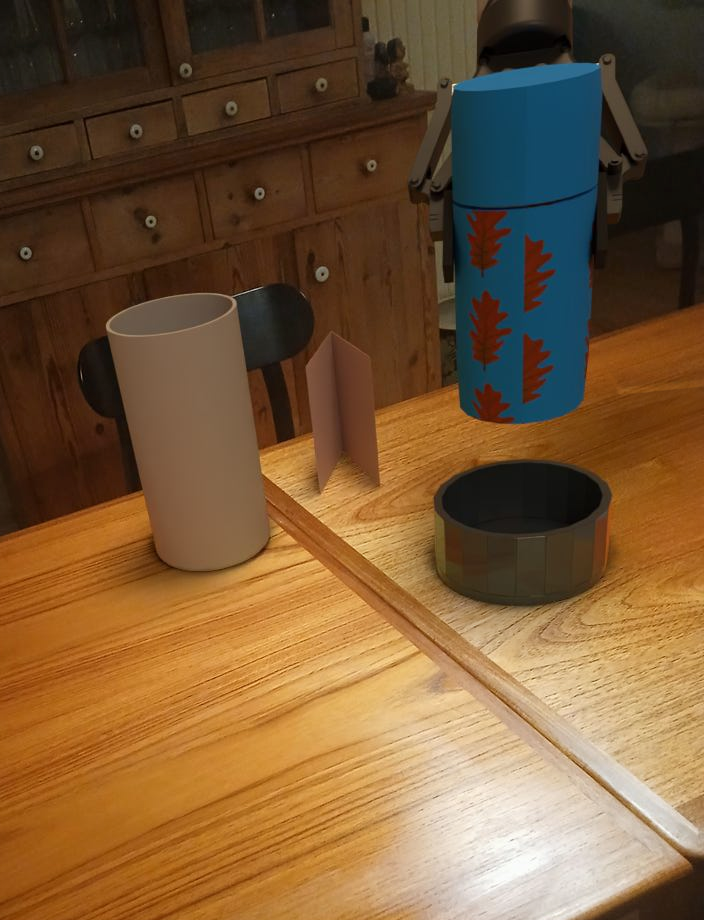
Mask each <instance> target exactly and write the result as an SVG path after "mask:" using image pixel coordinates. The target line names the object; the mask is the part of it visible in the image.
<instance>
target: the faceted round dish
mask: <svg viewBox="0 0 704 920" xmlns="http://www.w3.org/2000/svg"><path fill="white" fill-rule="evenodd" d="M432 500H433V501H432V506H433V507H432V508H433V528H434V532H433V533H434V553H435V566H436V572H437V574H438V576H439V578H440V579H441V581H442V582H443V581H444V582H445V583H446V584H447V585H446V584H445V583H444V584H445V585H446V586H447V587H449V588H450V587H451V588H452V589H451V588H450V589H451V590H453V589H454V590H455V591H454V590H453V591H454V592H456V591H457V592H456V593H458V592H459V593H458V594H460V593H461V594H460V595H462V594H463V595H462V596H464V595H465V596H464V597H466V596H467V598H469V597H470V598H469V599H472V598H473V599H472V600H474V599H475V601H478V600H480V601H479V602H482V603H485V604H491V603H492V605H499V606H507V605H513V606H512V607H527V606H526V605H531V606H538V605H537V604H541V605H546V603H547V604H552V603H551V602H553V603H555V602H554V601H557V602H560V601H559V600H561V601H563V600H562V599H565V600H567V599H566V598H568V599H570V597H571V598H574V597H576V596H579V595H580V594H582V593H584V592H586V591H587V590H589V589H591V588H592V587H593V586H595V584H597V583H598V582H599V581H600V579H602V576H603V575H604V574H605V572H606V569H607V565H608V563H607V562H608V555H609V551H610V550H609V549H610V535H611V523H612V522H611V519H612V505H613V494H612V490H611V488H610V485H609V484H608V482H607V481H606V480H604V479H603V478H602V477H600V476H599V475H598V474H597V473H595V472H593V471H590V470H589V469H586V468H585V467H584V468H583V467H581V466H579V465H576V464H573V463H568V462H563V461H557V460H552V459H538V458H537V459H536V458H535V459H534V458H533V459H532V458H518V459H517V458H516V459H507V460H498V461H492V462H489V463H483V464H480V465H475V466H473V467H471V468H467V469H466V470H463V471H461V472H458V473H456V474H454V475H452V476H451V477H449V478H448V479H446V480H445V481H444V482H443V483H442V484H439V486H438V488H437V490H436V492H435V494H434V495H433V497H432ZM575 595H576V596H575ZM544 603H545V604H544Z"/></svg>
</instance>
